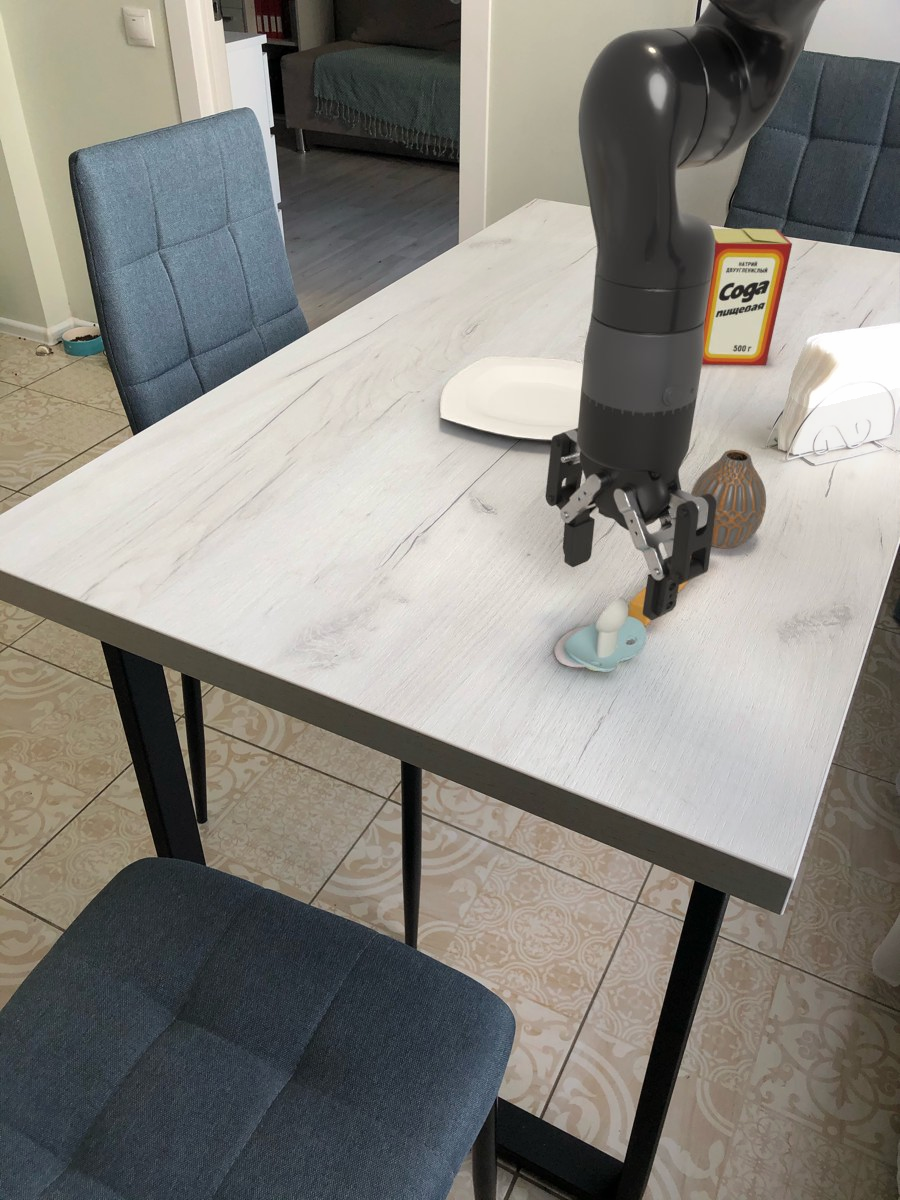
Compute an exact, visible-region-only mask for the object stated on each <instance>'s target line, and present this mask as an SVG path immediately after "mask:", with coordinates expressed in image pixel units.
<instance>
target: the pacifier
mask: <svg viewBox="0 0 900 1200" xmlns="http://www.w3.org/2000/svg"><path fill="white" fill-rule="evenodd" d="M628 613H629V604H628V602H627V601H626V599H625V598H624V597H617V598H616V599H614V600H613V601H612V602H610V603H609V604H608V605H607V606H606V607H605V608H604V610H603V611H602V612H601V613H600V615H599V617H598V618H597V621H596V622H593V623H590V624H586V625H582V626H579V627H576V628H574V629H572V630H570V631H568V632H566V633H565V634H564V635H562V636H561V637H560V639H559V640H558V641H557V642H556V645H555V647H554V656H555V658H556V660H557V661H558V662H559V663H560V664H562V665H564V666H566V667H570V668H586V669H587V670H589V671H594V672H603V673H604V672H605V673H608V672H609V673H610V672H613V671H615V670H616V669H617V667H618V665H619V663H620V662H622V661H627V660H630V659H632V658H634V657H636V656H637V655H638V654H639V653H641V651H642V650H643V648H644V647H645V644H646V642H647V635H648V634H647V629H646V626H644V625H643V624H642V622H640V621H639V620H637V619H636V618H633V617H630V616H628ZM629 640H635V643H633V644H628V643H627V642H628V641H629Z"/></svg>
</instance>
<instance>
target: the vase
mask: <svg viewBox="0 0 900 1200" xmlns="http://www.w3.org/2000/svg"><path fill="white" fill-rule="evenodd" d="M690 494H691V495H693V496H696V497H700V496H702V495H704V494H711V495H712V496H713V497H714V498H715V500H716V512H715V520H714V528H713V536H712V543H711V547H713V548H719V549H732V548H736V547H738V546H740V545H742V544H744V543H746V542H748V540H750V539H752V538H753V536H754V535H755V534H756V533H757V531H758V529H759V528H760V526H761V525H762V522H763V519H764V517H765V513H766V509H767V494H766V488H765V484H764V482H763V480H762V478H761V476H760V474H759V473H758V472H757V470H756V468H755V467H754V463H753V460H752V457H751V455H750V454H749V453H748V452H746V451H743V450H739V449H729V450H726V451H725V452H724V453H723V454H722V456H721V457H720V458H719V459H718V460H717V461H716V462H715V463H713V464H712V465H710V466H709V467H708V468H706V469H705V470H704V471H703V472H702V473H701V474H700V476H699V477H698V478H697V480H696V481H695V483H694V484H693V487H692V489H691V492H690Z"/></svg>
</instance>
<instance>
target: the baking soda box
mask: <svg viewBox="0 0 900 1200" xmlns="http://www.w3.org/2000/svg"><path fill="white" fill-rule="evenodd" d="M712 230H713V233H714V236H715V255H714V263H713V272H712V279H711V285H710V291H709V298H708V304H707V311H706V317H705V324H704V352H703V362H702V365H709V366H710V365H711V366H712V365H716V366H719V365H722V366H723V365H724V366H731V365H733V366H767V362H768V358H769V353H770V348H771V343H772V339H773V335H774V331H775V325H776V321H777V317H778V316H777V315H778V311H779V308H780V302H781V298H782V293H783V289H784V285H785V280H786V276H787V275H786V274H787V270H788V265H789V260H790V256H791V252H792V247H793V243H792V242H791V241H790V240H789V238H787V237H786V236H785V235H784V234H783V233H782V232H781V231H780V230H779V229H778V228H777V229H775V228H774V229H773V228H772V229H771V228H748V227H746V228H745V227H743V228H742V227H741V228H712Z"/></svg>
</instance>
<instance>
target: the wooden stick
mask: <svg viewBox="0 0 900 1200" xmlns="http://www.w3.org/2000/svg"><path fill="white" fill-rule="evenodd" d="M690 581H691V580H689V581H687V582H685V583H682V584H680V585H679V589H678V594H679V593H680V592H681V590H683V588H685V586H687V585H688V583H689V582H690ZM645 592H646V586H644V588H643V589H641V590H640V592H638V594H637V595H635V596H634V597H633V598H632V599H631V601H629V604H628V608H629V613H628V616H630V617H633V618H636V619H637V620H639V621H640V622H642V624H643V625H644V626H645V627H647V626H648V625H649V624H650V623H651V622H652V621H653V620H650V619H648V618H647V617H645V616H644V615H643V606H644V599H645Z"/></svg>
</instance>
